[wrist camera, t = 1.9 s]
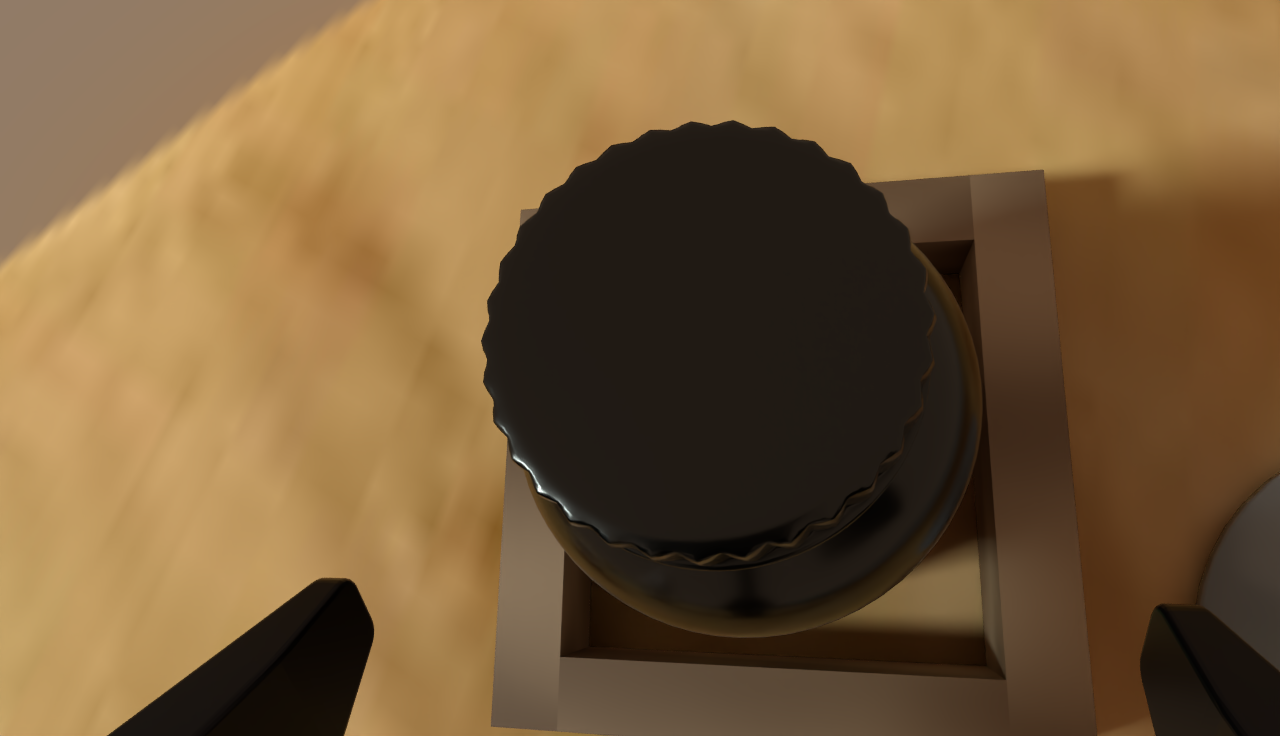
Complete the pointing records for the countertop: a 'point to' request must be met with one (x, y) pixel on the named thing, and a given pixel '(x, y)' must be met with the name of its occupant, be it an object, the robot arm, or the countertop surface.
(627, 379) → the supplement bottle
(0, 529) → the countertop surface
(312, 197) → the countertop surface
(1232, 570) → the slate coaster
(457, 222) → the countertop surface
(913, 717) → the brown flat square frame
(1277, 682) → the robot arm
